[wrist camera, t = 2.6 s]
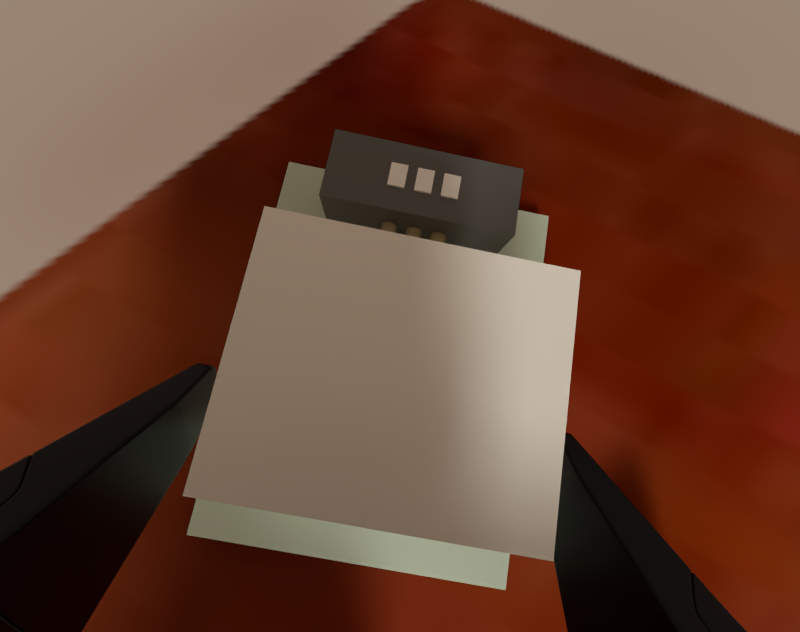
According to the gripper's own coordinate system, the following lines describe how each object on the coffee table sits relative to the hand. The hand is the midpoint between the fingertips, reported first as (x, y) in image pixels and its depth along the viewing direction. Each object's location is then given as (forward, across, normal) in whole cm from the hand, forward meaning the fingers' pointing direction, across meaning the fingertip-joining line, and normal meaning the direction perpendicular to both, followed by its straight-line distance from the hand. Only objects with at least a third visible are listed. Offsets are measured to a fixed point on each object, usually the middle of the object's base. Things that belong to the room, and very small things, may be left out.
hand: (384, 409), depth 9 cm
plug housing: (+6, 0, +5) cm, 8 cm away
